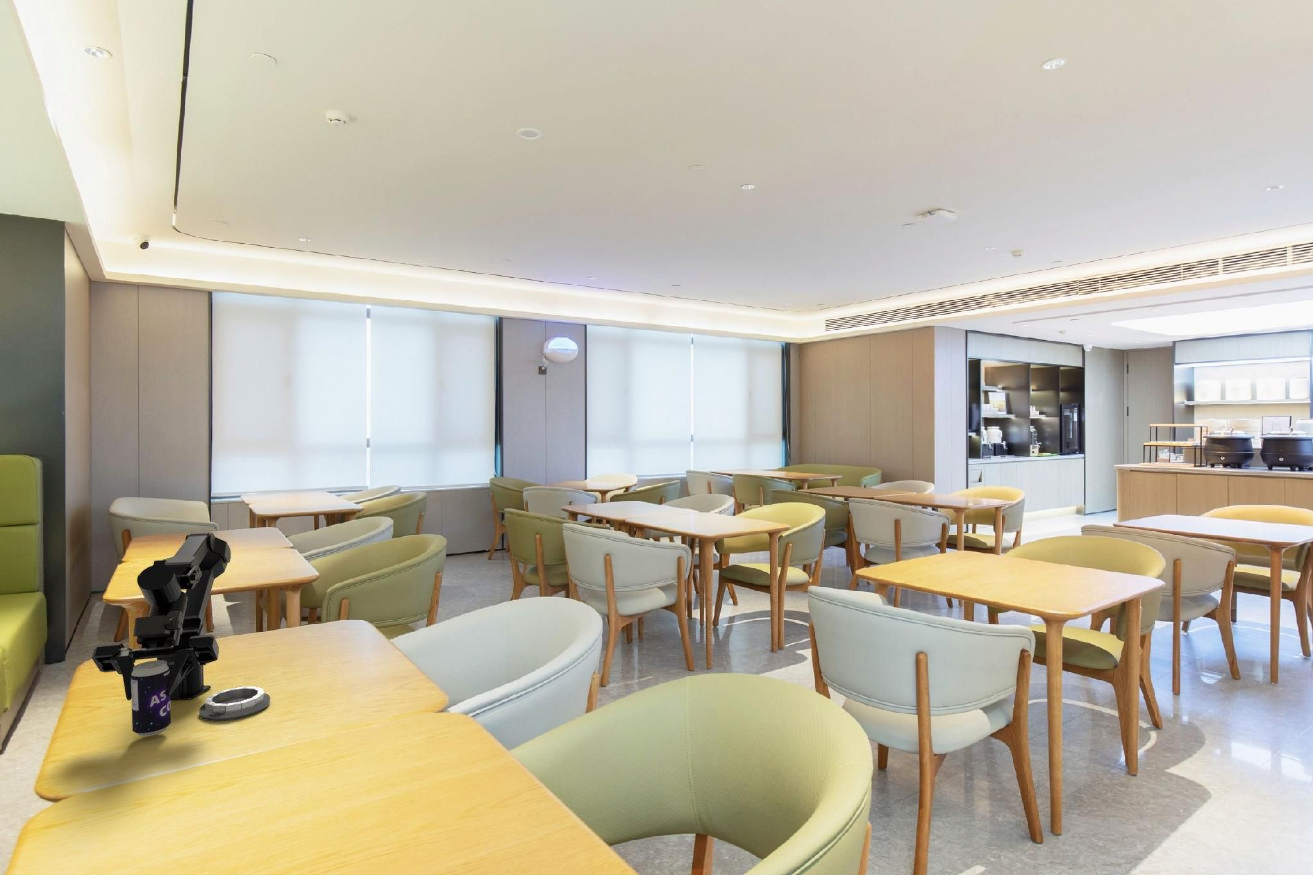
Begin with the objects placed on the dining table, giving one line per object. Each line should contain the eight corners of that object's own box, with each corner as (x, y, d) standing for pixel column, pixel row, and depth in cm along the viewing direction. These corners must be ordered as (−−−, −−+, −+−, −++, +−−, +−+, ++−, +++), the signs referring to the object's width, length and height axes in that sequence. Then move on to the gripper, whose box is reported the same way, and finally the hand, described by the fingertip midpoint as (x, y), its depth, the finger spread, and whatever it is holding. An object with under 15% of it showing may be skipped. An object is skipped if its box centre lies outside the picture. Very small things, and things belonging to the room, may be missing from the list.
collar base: (225, 696, 149) (225, 684, 149) (282, 696, 148) (282, 684, 148) (184, 720, 137) (184, 707, 137) (246, 721, 136) (246, 708, 136)
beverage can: (151, 739, 127) (149, 671, 126) (124, 736, 128) (122, 669, 128) (178, 725, 132) (177, 660, 132) (152, 723, 134) (150, 658, 133)
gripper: (94, 600, 130) (69, 683, 120) (213, 591, 136) (199, 669, 126) (112, 631, 138) (90, 712, 128) (224, 622, 144) (212, 697, 134)
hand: (148, 697), depth 129 cm, fingers closed on beverage can, 6 cm apart
